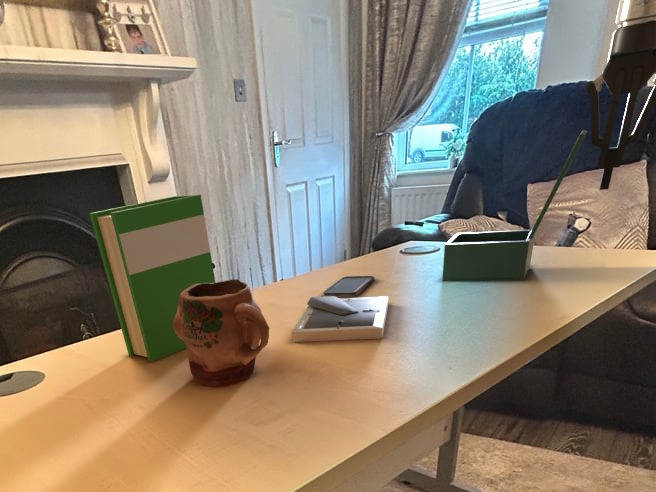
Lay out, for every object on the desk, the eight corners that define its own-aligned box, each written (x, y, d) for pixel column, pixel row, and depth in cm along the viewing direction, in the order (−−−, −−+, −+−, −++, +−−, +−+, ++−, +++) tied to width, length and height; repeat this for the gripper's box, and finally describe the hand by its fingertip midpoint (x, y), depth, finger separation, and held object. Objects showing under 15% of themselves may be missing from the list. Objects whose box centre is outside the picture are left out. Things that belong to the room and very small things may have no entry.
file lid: (580, 133, 93) (585, 134, 93) (583, 129, 102) (587, 131, 102) (527, 238, 106) (531, 239, 105) (534, 226, 114) (537, 227, 114)
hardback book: (151, 363, 95) (113, 212, 81) (129, 357, 99) (89, 213, 86) (224, 334, 104) (200, 194, 91) (200, 329, 109) (174, 196, 95)
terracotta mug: (304, 375, 82) (296, 280, 74) (251, 405, 75) (236, 304, 67) (216, 357, 94) (201, 273, 86) (163, 382, 87) (142, 293, 79)
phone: (375, 275, 125) (355, 292, 114) (375, 280, 125) (355, 298, 115) (343, 276, 128) (321, 292, 117) (344, 281, 129) (321, 297, 118)
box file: (442, 282, 117) (444, 244, 113) (453, 269, 126) (456, 233, 122) (523, 282, 110) (529, 241, 106) (529, 268, 119) (535, 229, 115)
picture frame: (311, 310, 111) (293, 343, 95) (311, 296, 109) (291, 327, 93) (388, 306, 107) (382, 340, 91) (388, 291, 106) (382, 323, 89)
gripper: (595, 29, 87) (564, 193, 101) (691, 12, 82) (645, 188, 96) (596, 32, 93) (567, 188, 106) (686, 17, 87) (643, 183, 101)
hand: (604, 188), depth 101 cm, fingers closed
